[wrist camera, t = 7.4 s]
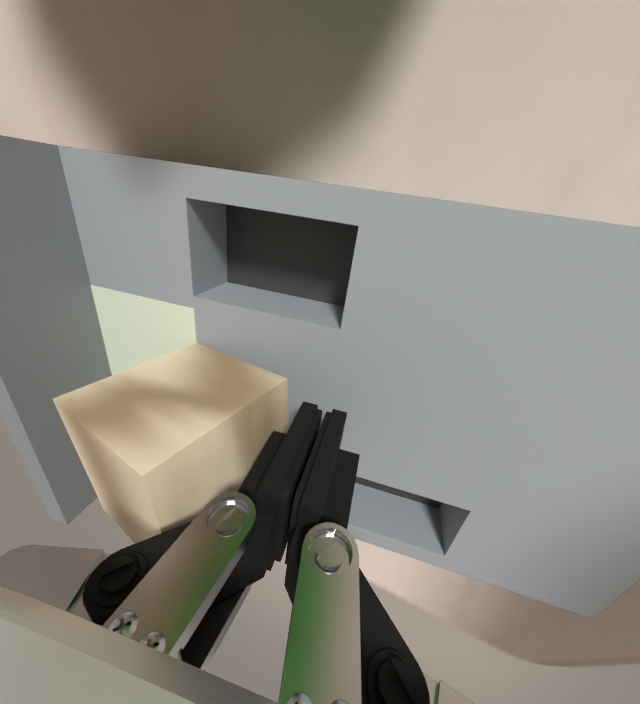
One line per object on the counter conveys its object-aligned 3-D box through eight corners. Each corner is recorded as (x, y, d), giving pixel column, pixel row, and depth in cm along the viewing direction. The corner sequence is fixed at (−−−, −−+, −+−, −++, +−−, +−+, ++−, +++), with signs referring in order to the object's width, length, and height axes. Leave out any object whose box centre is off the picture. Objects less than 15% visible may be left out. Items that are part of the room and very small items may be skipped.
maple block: (287, 378, 10) (142, 476, 6) (290, 480, 12) (184, 597, 9) (196, 342, 13) (52, 398, 9) (213, 433, 15) (103, 508, 11)
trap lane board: (832, 258, 9) (1750, 369, 3) (562, 553, 16) (654, 757, 10) (108, 155, 13) (-147, 110, 7) (155, 426, 21) (51, 518, 15)
